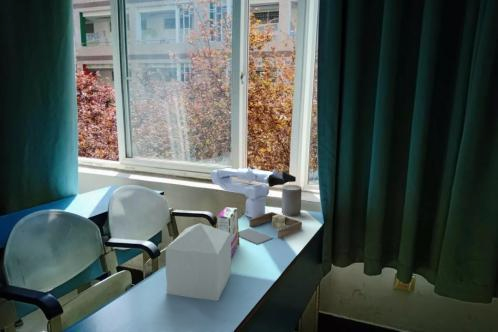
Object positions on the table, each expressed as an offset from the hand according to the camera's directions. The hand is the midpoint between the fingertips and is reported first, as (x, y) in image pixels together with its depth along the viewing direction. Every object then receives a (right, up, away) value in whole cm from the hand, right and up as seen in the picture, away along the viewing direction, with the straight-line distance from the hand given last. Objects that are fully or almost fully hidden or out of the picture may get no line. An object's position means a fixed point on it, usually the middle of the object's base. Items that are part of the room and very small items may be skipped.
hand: (289, 180), depth 153 cm
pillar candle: (+3, -18, +23) cm, 29 cm away
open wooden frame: (-6, -21, +3) cm, 22 cm away
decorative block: (-33, -31, -44) cm, 63 cm away
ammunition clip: (-27, -24, -13) cm, 38 cm away
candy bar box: (-26, -26, -23) cm, 44 cm away
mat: (-16, -23, -7) cm, 29 cm away
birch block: (-5, -21, +5) cm, 22 cm away
